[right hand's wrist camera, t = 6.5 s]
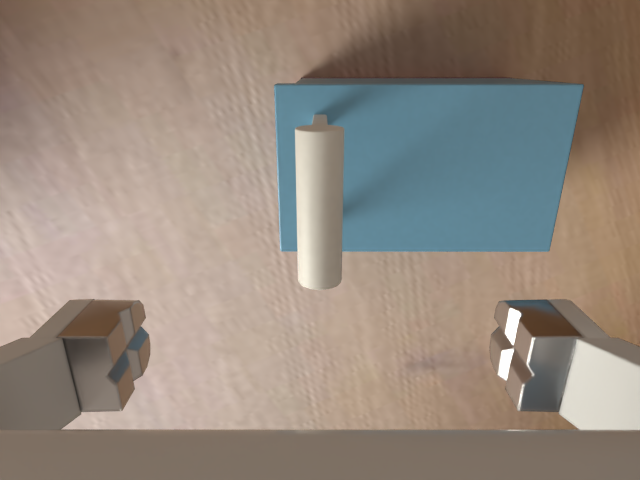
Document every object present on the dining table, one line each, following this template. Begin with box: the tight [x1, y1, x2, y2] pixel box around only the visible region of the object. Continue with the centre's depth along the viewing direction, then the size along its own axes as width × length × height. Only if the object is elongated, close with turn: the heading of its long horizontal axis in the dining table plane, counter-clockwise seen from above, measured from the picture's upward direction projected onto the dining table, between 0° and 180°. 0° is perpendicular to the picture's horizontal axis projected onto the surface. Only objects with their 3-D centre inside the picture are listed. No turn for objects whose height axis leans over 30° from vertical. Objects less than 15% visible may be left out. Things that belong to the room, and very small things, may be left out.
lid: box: [274, 83, 584, 290], centre depth 21 cm, size 16×9×8 cm, turn 90°
